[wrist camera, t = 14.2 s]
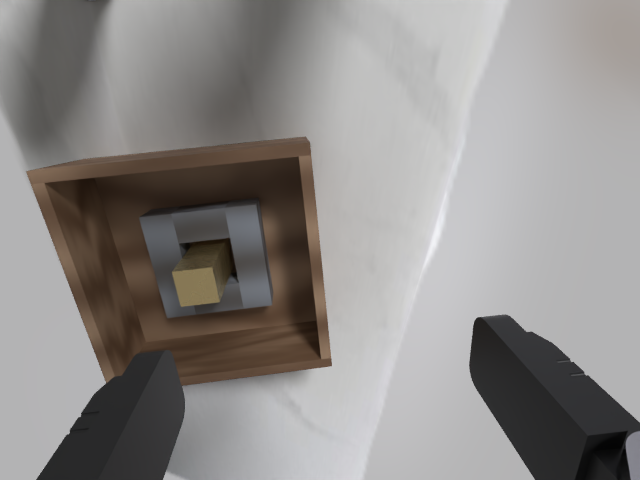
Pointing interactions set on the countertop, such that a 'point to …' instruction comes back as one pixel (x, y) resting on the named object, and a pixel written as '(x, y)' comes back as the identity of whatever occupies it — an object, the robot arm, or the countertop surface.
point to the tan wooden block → (203, 272)
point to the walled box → (175, 240)
